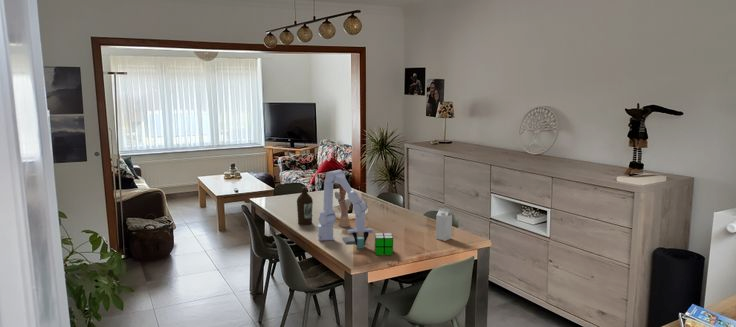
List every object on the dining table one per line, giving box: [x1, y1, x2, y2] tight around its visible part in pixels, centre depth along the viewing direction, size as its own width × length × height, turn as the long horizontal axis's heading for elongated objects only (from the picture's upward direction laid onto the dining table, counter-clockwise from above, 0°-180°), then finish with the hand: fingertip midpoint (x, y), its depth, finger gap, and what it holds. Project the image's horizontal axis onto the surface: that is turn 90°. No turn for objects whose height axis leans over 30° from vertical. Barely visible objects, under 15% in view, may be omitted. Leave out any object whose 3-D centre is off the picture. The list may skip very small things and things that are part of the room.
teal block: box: [356, 236, 365, 249], centre depth 306 cm, size 4×4×6 cm
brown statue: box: [334, 184, 352, 228], centre depth 350 cm, size 11×7×30 cm
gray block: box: [341, 235, 356, 245], centre depth 318 cm, size 9×9×2 cm
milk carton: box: [435, 207, 453, 242], centre depth 322 cm, size 7×7×19 cm
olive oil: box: [296, 186, 314, 226], centre depth 356 cm, size 11×11×25 cm
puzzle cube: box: [374, 232, 394, 256], centre depth 297 cm, size 10×10×10 cm
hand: (360, 244), depth 307 cm, fingers closed on teal block, 4 cm apart
